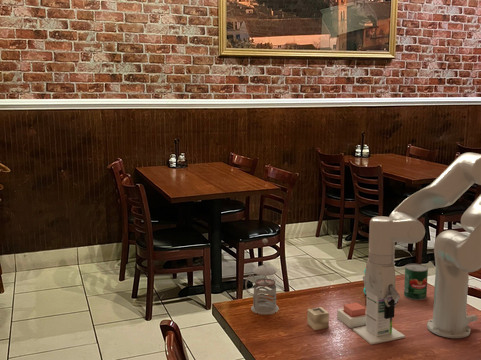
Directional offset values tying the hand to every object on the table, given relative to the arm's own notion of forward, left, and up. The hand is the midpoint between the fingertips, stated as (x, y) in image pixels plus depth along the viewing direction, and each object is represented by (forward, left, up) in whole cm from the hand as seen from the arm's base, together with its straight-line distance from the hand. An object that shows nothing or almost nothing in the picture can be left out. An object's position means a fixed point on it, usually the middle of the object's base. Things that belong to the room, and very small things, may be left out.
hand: (379, 311), depth 160 cm
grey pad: (0, 0, -7) cm, 7 cm away
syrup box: (0, 0, -7) cm, 7 cm away
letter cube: (+15, -12, -7) cm, 20 cm away
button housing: (+2, -11, -7) cm, 13 cm away
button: (+2, -11, -5) cm, 12 cm away
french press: (+26, -31, -8) cm, 41 cm away
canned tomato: (-30, -21, -8) cm, 37 cm away
